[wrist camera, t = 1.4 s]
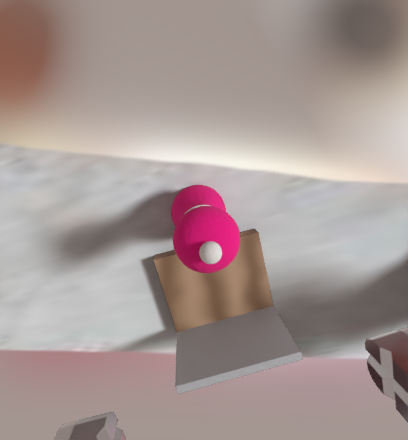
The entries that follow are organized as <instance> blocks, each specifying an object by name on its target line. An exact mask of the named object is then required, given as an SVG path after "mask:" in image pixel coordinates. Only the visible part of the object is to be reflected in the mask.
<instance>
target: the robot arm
mask: <svg viewBox="0 0 408 440" xmlns="http://www.w3.org/2000/svg"><path fill="white" fill-rule="evenodd" d="M365 348H366V350H367V351H368V352H369V353H370V356H369V358H368V359H367V365H368V370H369V373H370V375H371V377H372V379H373V381H374V382H375V384H376V385H377V387H378V388H379V389H380V391H381V392H382V393H383V394H384V395H386V396H388V397H390V398H392V399H394V400H395V405H396V409H397V410H398V412H399V413H400V414H401V415H402V416H403V418H404V419H405V420H406V421H407V422H408V327H405V328H402V329H398V330H394V331H391V332H388V333H384V334H381V335H378V336H374V337H371V338H367V339H366V341H365ZM117 421H118V419H117V418H116V415H115V414H114V412H109V413H105V414H101V415H97V416H93V417H89V418H85V419H81V420H79V421H74V422H71V423H67V424H63V425H62V426H61V427H60V429H59V430H58V431H57V434H56V436H55V438H54V440H126V438H125V435H124V433H123V430H121V429H119V428H117V427H116V425H117Z"/></svg>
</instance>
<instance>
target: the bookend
mask: <svg viewBox="0 0 408 440" xmlns="http://www.w3.org/2000/svg"><path fill="white" fill-rule="evenodd" d="M154 263H155V266H156V269H157V272H158V275H159V279H160V282H161V285H162V288H163V291H164V294H165V297H166V300H167V303H168V306H169V309H170V312H171V315H172V318H173V321H174V325H175V328H176V331H177V350H176V389H177V392H178V394H180V393H184V392H187V391H191V390H194V389H198V388H202V387H205V386H209V385H212V384H216V383H220V382H223V381H227V380H231V379H234V378H238V377H241V376H245V375H248V374H252V373H255V372H259V371H263V370H266V369H270V368H274V367H277V366H281V365H284V364H288V363H292V362H295V361H299V360H302V359H303V358H302V352H301V350H300V349H299V347H298V345H297V344H296V342H295V340H294V339H293V337H292V336H291V334H290V332H289V331H288V329H287V327H286V326H285V324H284V322H283V321H282V319H281V318H280V316H279V314H278V313H277V311H276V309H275V308H274V306H273V302H272V297H271V292H270V287H269V282H268V277H267V272H266V268H265V263H264V258H263V253H262V248H261V243H260V238H259V233H258V232H257V231H256V230H255V229H251V230H248V231H244V232H240V247H239V250H238V253H237V255H236V257H235V258H234V260H233V261H232V262H231V263H230V264H229V265H228V266H227V267H225V268H224V269H222V270H220V271H217V272H213V273H199V272H196V271H193V270H191V269H189V268H188V267H186V266H185V265H184V264H183V263H182V262H181V260H180V259H179V258H178V256H177V254H176V252H175V250H172V251H169V252H165V253H161V254H157V255H155V257H154Z"/></svg>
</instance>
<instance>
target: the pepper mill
mask: <svg viewBox="0 0 408 440" xmlns="http://www.w3.org/2000/svg"><path fill="white" fill-rule="evenodd" d="M171 215H172V220H173V223H174V225H175V230H174V234H173V245H174V249H175V252H176V254H177V256H178V258H179V259H180V260H181V262H182V263H183V264H184V265H185V266H186V267H188V268H189V269H191V270H193V271H196V272H199V273H213V272H217V271H220V270H222V269H224V268H225V267H227V266H228V265H229V264H230V263H231V262H232V261H233V260H234V258H235V257H236V255H237V253H238V250H239V247H240V232H239V229H238V226H237V224H236V222H235V221H234V219H233V218H232V217H231V216H230V215H229V214H228V213H227V212H226V209H225V205H224V202H223V200H222V198H221V196H220V195H219V194H218V193H217V192H216V191H215V190H214V189H212V188H210V187H208V186H204V185H193V186H190V187H187V188H185V189H183V190H182V191H181V192H180V193H179V194H178V195H177V196H176V198H175V199H174V201H173V204H172V209H171Z"/></svg>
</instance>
